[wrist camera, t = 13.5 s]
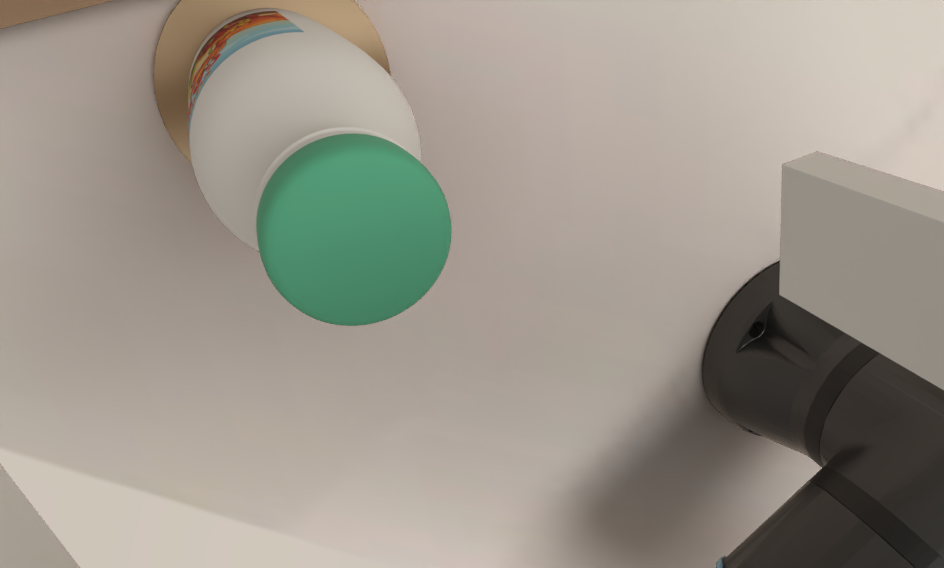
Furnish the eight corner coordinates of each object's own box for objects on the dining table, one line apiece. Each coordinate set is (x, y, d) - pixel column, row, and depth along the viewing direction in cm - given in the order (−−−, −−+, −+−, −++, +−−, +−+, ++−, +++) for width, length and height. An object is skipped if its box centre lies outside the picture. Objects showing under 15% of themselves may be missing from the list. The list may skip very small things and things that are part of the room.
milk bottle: (331, -11, 32) (489, 35, 15) (371, 147, 35) (533, 327, 19) (161, 26, 30) (121, 127, 13) (222, 189, 34) (252, 428, 17)
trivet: (409, 157, 37) (414, 161, 37) (210, 222, 35) (211, 228, 34) (351, -62, 32) (355, -63, 31) (110, -2, 30) (108, -1, 29)
